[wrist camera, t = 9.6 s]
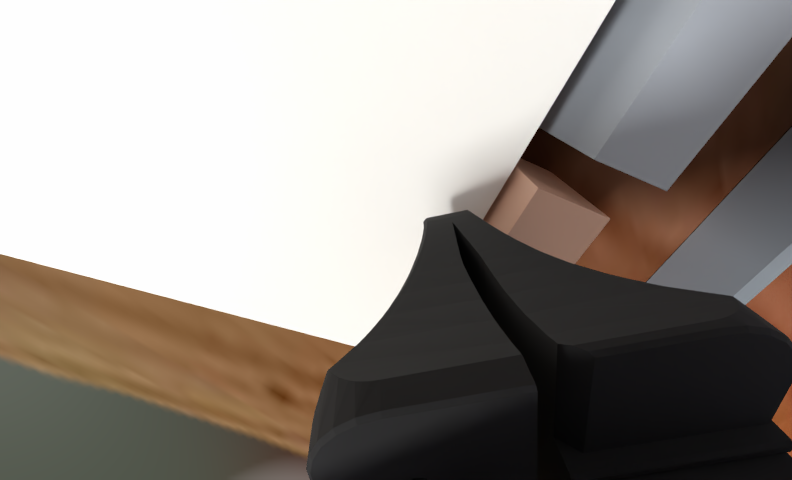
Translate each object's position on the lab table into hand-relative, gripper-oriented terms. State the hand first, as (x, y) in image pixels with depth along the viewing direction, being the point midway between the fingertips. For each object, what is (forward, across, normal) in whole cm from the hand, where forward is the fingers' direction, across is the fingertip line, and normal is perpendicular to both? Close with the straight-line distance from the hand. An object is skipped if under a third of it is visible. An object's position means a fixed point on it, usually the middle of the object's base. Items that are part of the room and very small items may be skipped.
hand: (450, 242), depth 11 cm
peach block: (+2, -1, +1) cm, 2 cm away
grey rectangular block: (+2, -5, -4) cm, 7 cm away
